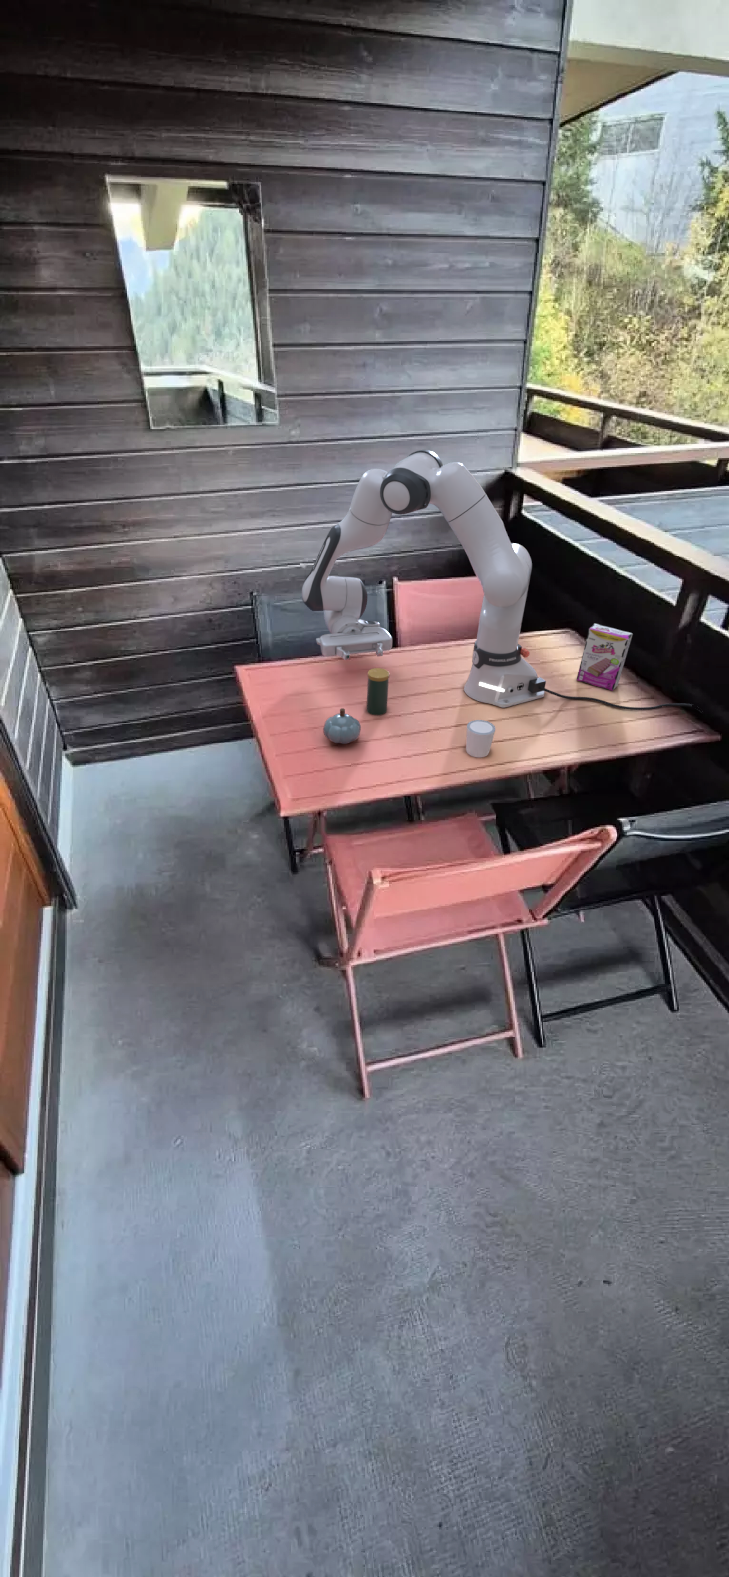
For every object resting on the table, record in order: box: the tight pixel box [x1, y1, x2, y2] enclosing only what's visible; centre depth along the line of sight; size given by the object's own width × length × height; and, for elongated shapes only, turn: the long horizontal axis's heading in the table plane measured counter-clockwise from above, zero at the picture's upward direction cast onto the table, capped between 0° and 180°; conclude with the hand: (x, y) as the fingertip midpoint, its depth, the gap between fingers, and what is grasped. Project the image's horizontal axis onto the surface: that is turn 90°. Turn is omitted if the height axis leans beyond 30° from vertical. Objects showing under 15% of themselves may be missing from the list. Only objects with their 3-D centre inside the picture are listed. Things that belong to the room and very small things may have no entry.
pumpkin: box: [322, 707, 362, 745], centre depth 171 cm, size 9×9×9 cm
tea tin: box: [366, 667, 390, 716], centre depth 183 cm, size 6×6×11 cm
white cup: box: [465, 719, 496, 758], centre depth 170 cm, size 7×7×7 cm
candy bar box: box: [576, 623, 634, 692], centre depth 198 cm, size 11×5×16 cm, turn 58°
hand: (363, 655), depth 190 cm, fingers open, 8 cm apart
